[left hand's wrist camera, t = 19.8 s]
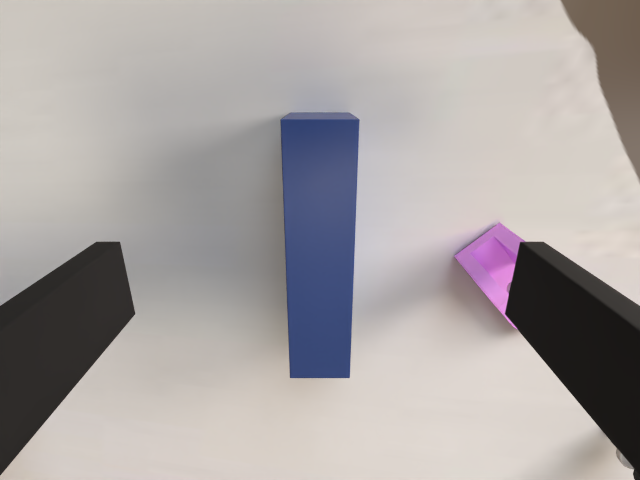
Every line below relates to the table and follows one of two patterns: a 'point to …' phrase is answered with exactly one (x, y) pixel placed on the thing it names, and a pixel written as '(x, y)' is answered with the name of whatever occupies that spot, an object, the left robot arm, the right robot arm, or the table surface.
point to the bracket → (492, 263)
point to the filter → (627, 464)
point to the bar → (319, 239)
